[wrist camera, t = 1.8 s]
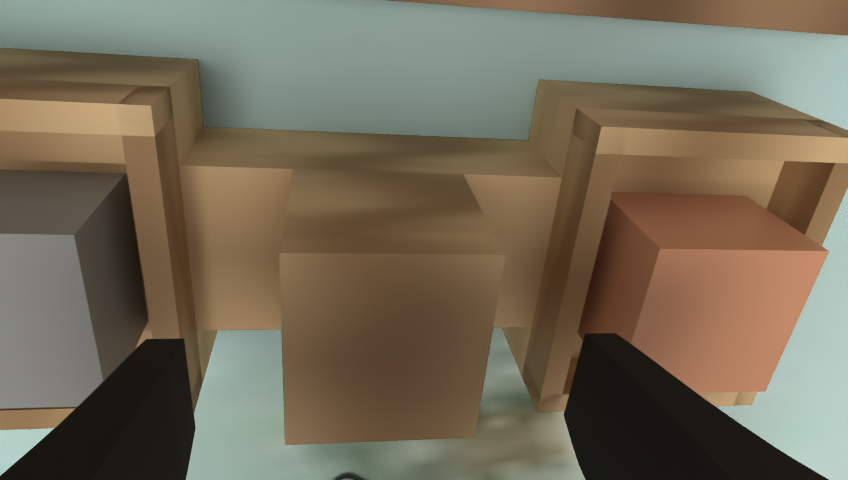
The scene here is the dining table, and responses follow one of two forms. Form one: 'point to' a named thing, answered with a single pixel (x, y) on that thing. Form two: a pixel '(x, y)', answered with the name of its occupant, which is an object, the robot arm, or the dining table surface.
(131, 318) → the light grey cube
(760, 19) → the dock
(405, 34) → the dining table surface
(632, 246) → the salmon orange block
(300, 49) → the dining table surface
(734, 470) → the robot arm
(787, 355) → the dining table surface
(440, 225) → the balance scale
